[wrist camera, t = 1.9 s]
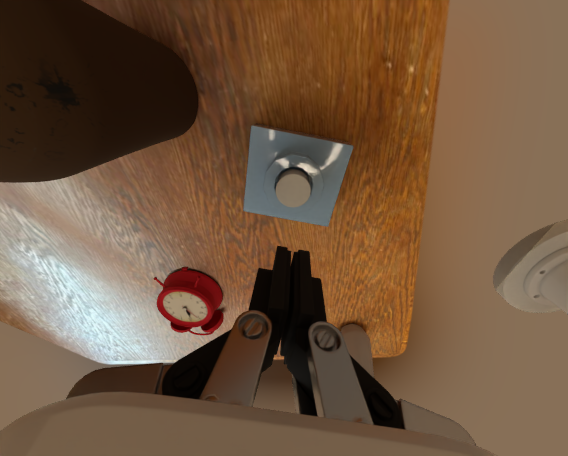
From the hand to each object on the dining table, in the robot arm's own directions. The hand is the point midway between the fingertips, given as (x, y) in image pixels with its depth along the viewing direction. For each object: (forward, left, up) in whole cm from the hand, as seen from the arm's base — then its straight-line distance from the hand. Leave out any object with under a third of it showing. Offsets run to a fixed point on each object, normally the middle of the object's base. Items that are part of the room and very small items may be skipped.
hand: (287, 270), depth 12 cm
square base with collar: (0, 0, -19) cm, 19 cm away
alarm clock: (+13, +26, -19) cm, 35 cm away
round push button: (0, 0, -14) cm, 14 cm away
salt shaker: (-17, +28, -19) cm, 38 cm away
